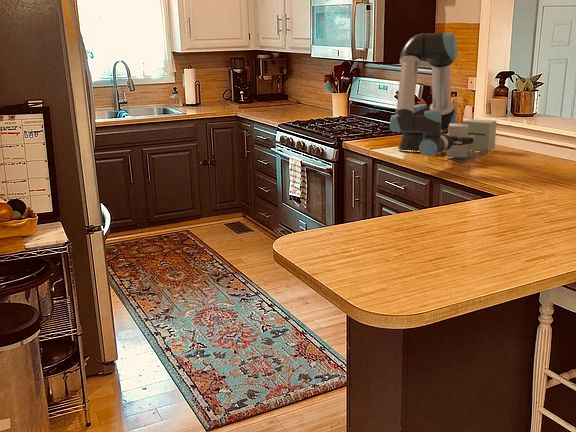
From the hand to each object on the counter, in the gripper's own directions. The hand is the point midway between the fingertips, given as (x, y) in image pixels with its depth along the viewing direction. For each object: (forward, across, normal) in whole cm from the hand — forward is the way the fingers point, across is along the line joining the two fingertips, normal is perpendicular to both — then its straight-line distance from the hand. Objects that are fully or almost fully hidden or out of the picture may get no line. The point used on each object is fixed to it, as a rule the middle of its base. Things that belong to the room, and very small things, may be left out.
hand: (461, 136), depth 301 cm
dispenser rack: (+14, 0, -10) cm, 17 cm away
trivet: (-4, 0, -10) cm, 11 cm away
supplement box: (-4, 0, -9) cm, 9 cm away
